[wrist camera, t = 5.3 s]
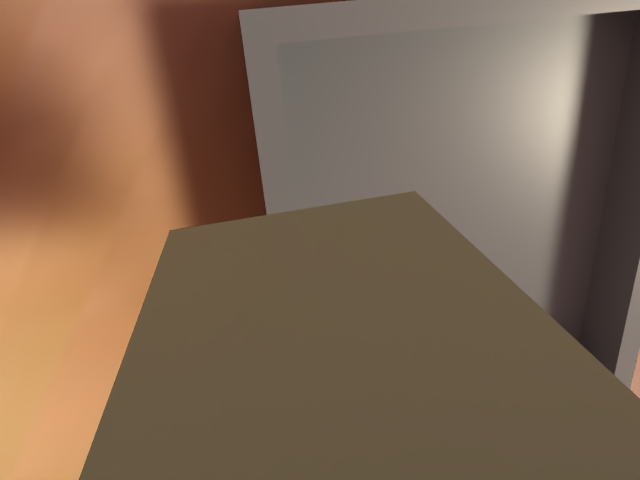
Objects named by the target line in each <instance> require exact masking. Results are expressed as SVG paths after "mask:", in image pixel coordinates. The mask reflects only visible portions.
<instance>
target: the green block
mask: <svg viewBox="0 0 640 480" xmlns="http://www.w3.org/2000/svg"><path fill="white" fill-rule="evenodd" d="M79 480H640V398H638V397H637V396H636V395H635V394H634V393H633V392H632V391H631V390H630V389H629V388H628V387H627V386H626V385H624V384H623V383H622V382H621V381H620V380H619V379H618V378H617V377H616V376H615V375H614V374H613V373H611V372H610V371H609V370H608V369H607V368H606V367H605V366H604V365H603V364H602V363H601V362H600V361H598V360H597V359H596V358H595V357H594V356H593V355H592V354H591V353H590V352H589V351H588V350H587V349H585V348H584V347H583V346H582V345H581V344H580V343H579V342H578V341H577V340H576V339H575V338H574V337H572V336H571V335H570V334H569V333H568V332H567V331H566V330H565V329H564V328H563V327H562V326H561V325H560V324H558V323H557V322H556V321H555V320H554V319H553V318H552V317H551V316H550V315H549V314H548V313H547V312H545V311H544V310H543V309H542V308H541V307H540V306H539V305H538V304H537V303H536V302H535V301H534V300H532V299H531V298H530V297H529V296H528V295H527V294H526V293H525V292H524V291H523V290H522V289H521V288H519V287H518V286H517V285H516V284H515V283H514V282H513V281H512V280H511V279H510V278H509V277H508V276H506V275H505V274H504V273H503V272H502V271H501V270H500V269H499V268H498V267H497V266H496V265H495V264H494V263H492V262H491V261H490V260H489V259H488V258H487V257H486V256H485V255H484V254H483V253H482V252H481V251H479V250H478V249H477V248H476V247H475V246H474V245H473V244H472V243H471V242H470V241H469V240H468V239H466V238H465V237H464V236H463V235H462V234H461V233H460V232H459V231H458V230H457V229H456V228H455V227H453V226H452V225H451V224H450V223H449V222H448V221H447V220H446V219H445V218H444V217H443V216H442V215H440V214H439V213H438V212H437V211H436V210H435V209H434V208H433V207H432V206H431V205H430V204H429V203H428V202H426V201H425V200H424V199H423V198H422V197H421V196H420V195H419V194H418V193H417V192H416V191H411V192H405V193H399V194H393V195H387V196H380V197H374V198H368V199H362V200H356V201H349V202H343V203H337V204H331V205H325V206H318V207H312V208H306V209H300V210H294V211H287V212H281V213H275V214H269V215H262V216H256V217H250V218H244V219H238V220H231V221H225V222H219V223H213V224H207V225H200V226H194V227H188V228H182V229H176V230H170V232H169V234H168V237H167V240H166V243H165V245H164V248H163V251H162V254H161V256H160V259H159V262H158V265H157V267H156V270H155V273H154V275H153V278H152V281H151V284H150V286H149V289H148V292H147V295H146V297H145V300H144V303H143V306H142V308H141V311H140V314H139V316H138V319H137V322H136V325H135V327H134V330H133V333H132V336H131V338H130V341H129V344H128V347H127V349H126V352H125V355H124V358H123V360H122V363H121V366H120V368H119V371H118V374H117V377H116V379H115V382H114V385H113V388H112V390H111V393H110V396H109V399H108V401H107V404H106V407H105V410H104V412H103V415H102V418H101V420H100V423H99V426H98V429H97V431H96V434H95V437H94V440H93V442H92V445H91V448H90V451H89V453H88V456H87V459H86V461H85V464H84V467H83V470H82V472H81V475H80V478H79Z"/></svg>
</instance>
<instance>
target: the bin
mask: <svg viewBox="0 0 640 480" xmlns="http://www.w3.org/2000/svg"><path fill="white" fill-rule="evenodd" d="M238 12H239V19H240V26H241V34H242V41H243V48H244V55H245V62H246V70H247V77H248V84H249V91H250V98H251V106H252V113H253V120H254V127H255V134H256V142H257V149H258V156H259V163H260V170H261V178H262V185H263V192H264V199H265V206H266V213H267V215H269V214H275V213H281V212H287V211H294V210H300V209H306V208H312V207H318V206H325V205H331V204H337V203H343V202H349V201H356V200H362V199H368V198H374V197H380V196H387V195H393V194H399V193H405V192H411V191H416V192H417V193H418V194H419V195H420V196H421V197H422V198H423V199H424V200H425V201H426V202H428V203H429V204H430V205H431V206H432V207H433V208H434V209H435V210H436V211H437V212H438V213H439V214H440V215H442V216H443V217H444V218H445V219H446V220H447V221H448V222H449V223H450V224H451V225H452V226H453V227H455V228H456V229H457V230H458V231H459V232H460V233H461V234H462V235H463V236H464V237H465V238H466V239H468V240H469V241H470V242H471V243H472V244H473V245H474V246H475V247H476V248H477V249H478V250H479V251H481V252H482V253H483V254H484V255H485V256H486V257H487V258H488V259H489V260H490V261H491V262H492V263H494V264H495V265H496V266H497V267H498V268H499V269H500V270H501V271H502V272H503V273H504V274H505V275H506V276H508V277H509V278H510V279H511V280H512V281H513V282H514V283H515V284H516V285H517V286H518V287H519V288H521V289H522V290H523V291H524V292H525V293H526V294H527V295H528V296H529V297H530V298H531V299H532V300H534V301H535V302H536V303H537V304H538V305H539V306H540V307H541V308H542V309H543V310H544V311H545V312H547V313H548V314H549V315H550V316H551V317H552V318H553V319H554V320H555V321H556V322H557V323H558V324H560V325H561V326H562V327H563V328H564V329H565V330H566V331H567V332H568V333H569V334H570V335H571V336H572V337H574V338H575V339H576V340H577V341H578V342H579V343H580V344H581V345H582V346H583V347H584V348H585V349H587V350H588V351H589V352H590V353H591V354H592V355H593V356H594V357H595V358H596V359H597V360H598V361H600V362H601V363H602V364H603V365H604V366H605V367H606V368H607V369H608V370H609V371H610V372H611V373H613V374H614V375H615V376H616V377H617V378H618V379H619V380H620V381H621V382H622V383H623V384H624V385H626V386H627V387H628V388H629V389H630V386H631V382H632V378H633V374H634V369H635V365H636V361H637V357H638V352H639V348H640V0H351V1H339V2H327V3H316V4H304V5H293V6H281V7H270V8H258V9H246V10H238Z"/></svg>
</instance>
